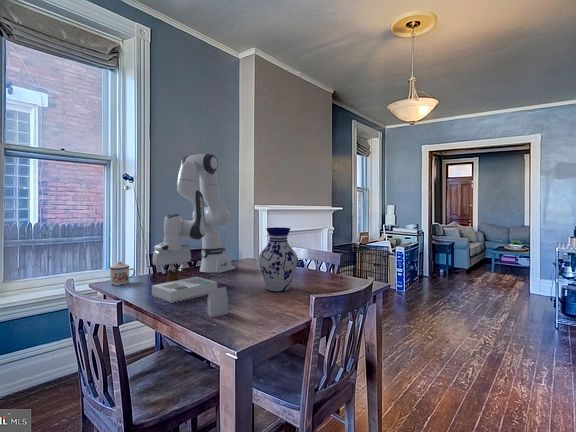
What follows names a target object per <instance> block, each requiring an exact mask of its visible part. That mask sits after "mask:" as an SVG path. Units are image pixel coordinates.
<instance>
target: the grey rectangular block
mask: <svg viewBox="0 0 576 432" xmlns="http://www.w3.org/2000/svg"><path fill="white" fill-rule="evenodd" d="M207 315H208V316H209V317H210V318H214V317H219V316H223V315H224V316H225V315H229V297H228V292H227V287H225V286H224V287H223V286H222V287H217V288H216V289H209V294H208V296H207Z"/></svg>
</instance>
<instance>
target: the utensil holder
mask: <svg viewBox="0 0 576 432" xmlns="http://www.w3.org/2000/svg"><path fill="white" fill-rule="evenodd" d="M176 264H177V263H175V264H174V263H173V264H169V266H171V269H169V270H168V272H167V276H166V277H167V278H166V279H167V280H166V281H167V282H172V281H177V280H180V273H179V272H180V271H179V269H177V268H174V266H175V265H176Z"/></svg>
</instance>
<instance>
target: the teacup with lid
mask: <svg viewBox="0 0 576 432" xmlns="http://www.w3.org/2000/svg"><path fill="white" fill-rule="evenodd" d="M109 270H110V273H109V275H110V285H111V284H125V285H127V284H126V283H128V284H130V279H131V278H133V277H134V276H135V275H136V269H134V268H131V267H130V265H129V264H126V263H124V262H123V261H122V260H118V261H117V262H116V263H114V264H113V265H110V267H109ZM130 271H133V274H132V275H131V276H130Z"/></svg>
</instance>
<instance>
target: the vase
mask: <svg viewBox="0 0 576 432" xmlns="http://www.w3.org/2000/svg"><path fill="white" fill-rule="evenodd" d="M265 230H266V232H267V233H268V236H269V242H268V243H267V245H266V246H265V247H264V248H263V249H262V251H261V252H260V254H259V257H258V264H259V268H260V271H261V275H262V279H263V281H264V283H265V287H266V291H268V292H271V293H285V292H289V290H290V288H291V284H292V283H293V279H294V275H295V272H296V269H297V265H298V260H299V259H298V255H297V253H296V251H295V250H294V249H293V247H291V246H290V243H289V242H288V235H289V233H290V231H291V227H277V226H276V227H265Z"/></svg>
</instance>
